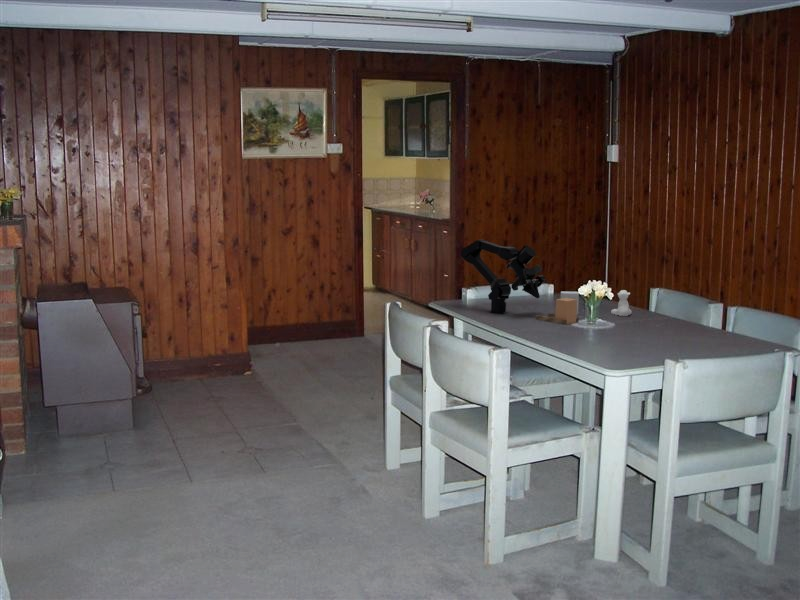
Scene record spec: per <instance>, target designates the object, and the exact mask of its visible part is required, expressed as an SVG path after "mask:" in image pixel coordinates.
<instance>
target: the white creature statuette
mask: <svg viewBox="0 0 800 600" xmlns="http://www.w3.org/2000/svg"><path fill="white" fill-rule="evenodd" d="M630 295H631V292H628V291H627V290H625V289H621V290H620V291H619V292H617V297H618V298H619V301H618V304H617V308H613V309H611V311H610V313H611V314H612V315H614V314H615V316H617V315H619V316H618V317H629V316H630V315H631V314H632V310H631V309H630V306H629V305H630V303H629V302H628V298H629V296H630ZM628 315H629V316H628Z"/></svg>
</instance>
